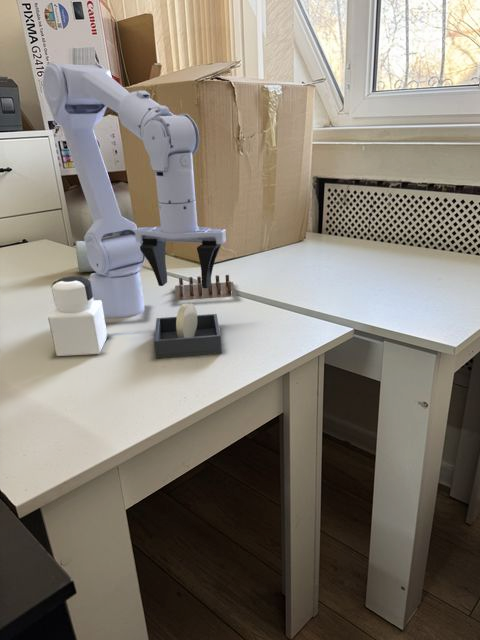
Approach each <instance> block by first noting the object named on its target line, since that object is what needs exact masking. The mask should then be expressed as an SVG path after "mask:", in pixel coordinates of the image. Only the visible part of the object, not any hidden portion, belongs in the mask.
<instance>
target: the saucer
mask: <svg viewBox="0 0 480 640" xmlns="http://www.w3.org/2000/svg"><path fill="white" fill-rule="evenodd" d="M197 315H198V312H197V309H196V305H194V304H193V303H185V302H184V303H182V304H181V305H180V306H179V309H178V311H177V315H176V317H177V320H176V330H177V335H178V338H185V337H194V336H195V333H196V329H197Z"/></svg>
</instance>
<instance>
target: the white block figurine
mask: <svg viewBox="0 0 480 640" xmlns="http://www.w3.org/2000/svg"><path fill="white" fill-rule="evenodd" d="M50 287H51V292H52V297H53V302H54V306H55V308H54V309H53V311H52V312H51V313H50V314H49V315H48V318H47V320H48V323H49V328H50V333H51V338H52V343H53V346H54V351H55V355H56V356H57V357H67V356H87V355H88V356H89V355H99V354H101V351H102V349H103V347H104V345H105V343H106V341H107V338H108V331H107V325H106V319H105V318H104V313H103V307H102V302H101V300H93V294H92V288H91V282H90V279H88V278H87V277H84V276H81V275H80V276H79V275H71V276H65V277H61V278H59V279H57V280H55V281H53V283H51V286H50Z"/></svg>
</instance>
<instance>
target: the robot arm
mask: <svg viewBox="0 0 480 640" xmlns="http://www.w3.org/2000/svg"><path fill="white" fill-rule="evenodd" d="M42 89H43V93H44V96H45V100H46V102H47V105H48V108H49V112H50V113H51V116H52V118H53V121H54V123H56V124H57V125H59V126H60V127H61V130H62V134H63V136H64V139H65V142H66V146H67V148H68V150H69V154H70V157H71V160H72V162H73V166H74V169H75V173H76V174H77V177H78V180H79V184H80V186H81V189H82V192H83V195H84V197H85V202H86V203H87V207H88V210H89V212H90V215H91V219H92V222H93V223H92V224H91V226H90V227H89V228H88V230H87V231H86V233H85V234H84V236H83V241H85V244H86V249H87V258H88V261H89V264H90V266H91V267H92V269H93V270H94V271H93V273H90V275H89V280H90V282H91V288H92V294H93V300H101V302H102V307H103V313H104V319H105V318H130V317H134V316H137V315H140V314H142V313H143V312H144V311H145V301H144V294H143V286H142V278H141V272H140V271H141V270H143V269H144V267H143V264H145V262H146V261H147V262H148V263H149V265H150V267H151V269H152V271H153V273H154V277H155V279H156V281H157V284H158V286H159V287H163V286H165V285H166V284H167V283H168V272H167V263H166V246H167V242H168V243H170V242H172V243H197V244H198V243H201V244H200V245H199V246H197V247H196V252H197V256H198V259H199V265H200V273H201V274H200V275H201V276H200V277H201V284H202V287H203V288H208V287H209V286H210V283H212V274H213V271H214V270H213V269H214V265H215V262H216V259H217V256H218V254H219V252H220V249H221V247H222V245H223V244H225V243H226V242H227V238H226V235H227V234H226V229H224V228H223V229H221V228H211V227H202V226H198V216H197V215H198V214H197V213H198V212H197V201H196V189H195V188H196V187H195V175H194V162H193V161H194V160H193V155H195V153H196V152H197V151H198V149H199V145H200V131H199V128H198V126H197V124H196V122H195V120H194V119H193V118H192V117H191V116H190V114H188V113H180V114H179V113H178V114H177V115H176V114H174V113H172V112H171V111H170V109H169V107H168V106H166V105H162V104H160V103H158V102H156V101H155V100H153V99H152V98H151V94H150V93H149V92H148V91H147V90H136V91H131V92H129V90H127V89H126V88H125V87H123V86H122V85H121V84H120V83H119V82H118V81H117V80H115V79H114V78H113V77H112V73H111V70H110V69H108V68H105V66H103V65H102V64H92V65H91V64H71V63H69V64H68V63H56V62H53V61H51V62H48V63H47V64H46V66H45V67H44V70H43V75H42ZM107 108H109V109H110V110H112V111H114V112H115V113H117V114H118V119H119V122H120V124H121V125H122V126H123V127H124V128H125V129H127V130H128V131H129V132H131V133H132V134H134V136H136V137H138V139H140V140H141V141H142V143H143V146H144V149H145V151H146V153H147V155H148V157H149V163H150V167H151V169H152V171H154V174H155V183H156V193H157V205H158V212H159V223H160V226H146V227H145V226H140V227H137V224H136V223H135V222H133V221H131V220H129V219H127V218H126V217H124V216H122V213H121V210H120V208H119V204H118V201H117V198H116V195H115V192H114V189H113V186H112V183H111V180H110V177H109V174H108V171H107V167H106V164H105V162H104V159H103V154H102V152H101V149H100V146H99V143H98V140H97V137H96V134H95V130H94V129H95V125H97V124H98V123H100V122H101V121H102V119H103V117H104V115H105V113H106V110H107Z"/></svg>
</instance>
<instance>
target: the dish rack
mask: <svg viewBox="0 0 480 640" xmlns="http://www.w3.org/2000/svg"><path fill="white" fill-rule="evenodd" d="M183 279H184V278H183V277H178V284H177V285H174V301H189V300H203V299H205V300H206V299H218V298H231V297H232V298H233V297H238V294H237V290H236V287H235V284H234V281H230V274H225V282H221V281H220V275H219V274H217V275H215V282H211V283H210V286H209V287H208V288H203V287H202V278H201V276H197V277H196V281H197V283H195V284H194V278H193V276H189V277H188V283H189V284H184V281H183Z"/></svg>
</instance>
